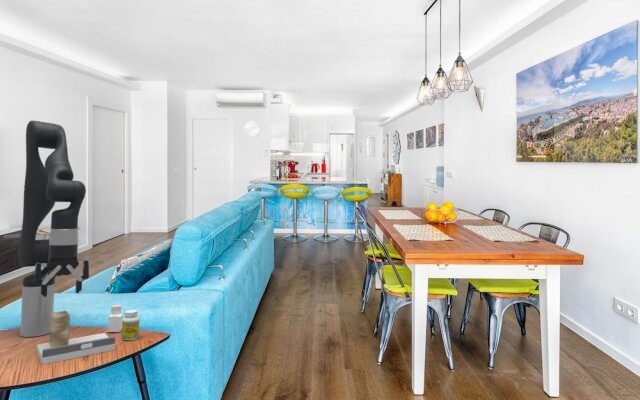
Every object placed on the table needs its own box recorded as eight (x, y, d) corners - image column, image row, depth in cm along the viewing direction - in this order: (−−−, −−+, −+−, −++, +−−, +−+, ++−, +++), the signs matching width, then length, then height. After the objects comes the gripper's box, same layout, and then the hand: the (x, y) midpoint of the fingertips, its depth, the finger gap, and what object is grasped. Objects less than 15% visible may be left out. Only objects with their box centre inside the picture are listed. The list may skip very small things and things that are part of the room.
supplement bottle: (137, 335, 137) (138, 308, 138) (139, 339, 133) (141, 312, 133) (120, 337, 134) (122, 310, 135) (122, 342, 130) (123, 314, 130)
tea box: (52, 350, 116) (54, 317, 116) (49, 344, 120) (51, 312, 120) (68, 347, 119) (70, 314, 119) (65, 341, 123) (66, 310, 123)
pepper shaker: (120, 332, 139) (121, 306, 139) (107, 333, 138) (109, 307, 138) (122, 329, 143) (123, 304, 143) (110, 330, 142) (111, 304, 142)
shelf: (36, 351, 120) (37, 338, 120) (104, 338, 133) (104, 327, 133) (42, 364, 110) (43, 350, 110) (114, 350, 123) (115, 337, 123)
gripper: (87, 241, 128) (84, 289, 127) (34, 242, 118) (31, 295, 118) (92, 243, 122) (90, 293, 122) (37, 245, 113) (34, 300, 112)
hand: (61, 294), depth 120 cm, fingers open, 8 cm apart
